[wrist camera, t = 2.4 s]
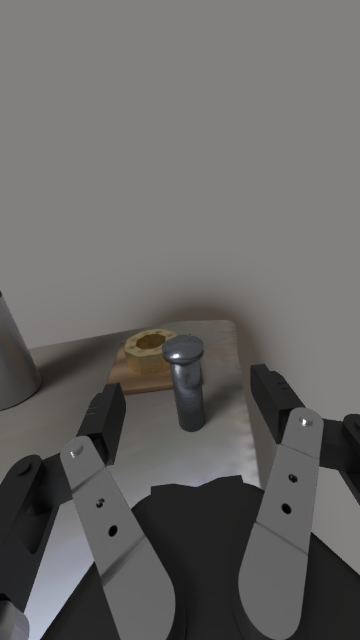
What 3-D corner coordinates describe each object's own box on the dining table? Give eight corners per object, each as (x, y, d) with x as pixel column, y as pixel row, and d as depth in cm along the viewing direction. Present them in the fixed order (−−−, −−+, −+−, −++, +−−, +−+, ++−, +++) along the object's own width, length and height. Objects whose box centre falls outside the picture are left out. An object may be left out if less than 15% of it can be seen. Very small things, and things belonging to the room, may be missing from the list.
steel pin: (192, 443, 28) (181, 362, 23) (167, 421, 31) (153, 347, 26) (216, 418, 30) (211, 342, 25) (191, 401, 34) (182, 331, 29)
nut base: (201, 385, 37) (198, 360, 35) (104, 397, 37) (96, 373, 35) (191, 338, 51) (189, 318, 49) (122, 347, 51) (117, 327, 49)
